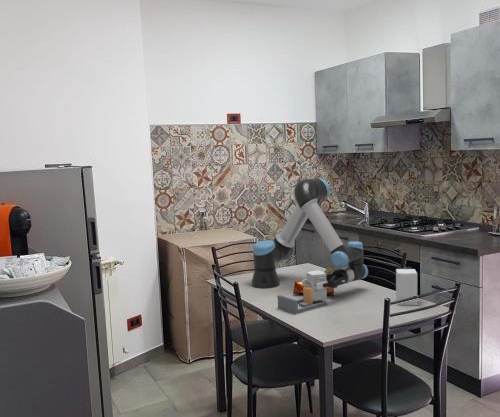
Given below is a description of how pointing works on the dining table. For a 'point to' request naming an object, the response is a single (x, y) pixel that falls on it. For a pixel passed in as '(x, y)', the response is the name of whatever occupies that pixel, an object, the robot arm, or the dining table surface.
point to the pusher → (307, 297)
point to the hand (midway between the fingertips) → (309, 284)
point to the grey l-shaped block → (295, 305)
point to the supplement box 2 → (406, 285)
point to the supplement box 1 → (312, 281)
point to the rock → (329, 272)
